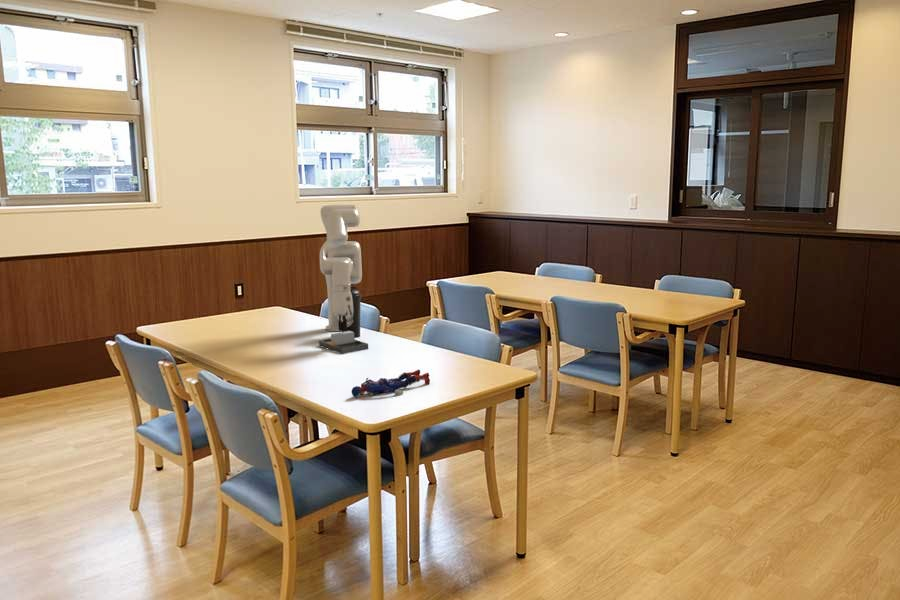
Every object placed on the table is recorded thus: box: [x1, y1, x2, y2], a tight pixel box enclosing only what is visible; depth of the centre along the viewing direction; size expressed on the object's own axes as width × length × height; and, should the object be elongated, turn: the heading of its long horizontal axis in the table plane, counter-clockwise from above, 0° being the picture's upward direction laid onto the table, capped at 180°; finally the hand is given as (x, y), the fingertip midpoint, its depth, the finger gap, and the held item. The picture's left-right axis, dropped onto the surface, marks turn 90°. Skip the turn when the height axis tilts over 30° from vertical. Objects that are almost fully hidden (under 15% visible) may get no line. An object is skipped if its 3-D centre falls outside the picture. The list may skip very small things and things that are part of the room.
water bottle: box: [341, 285, 362, 339], centre depth 319 cm, size 10×10×23 cm
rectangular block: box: [330, 331, 355, 345], centre depth 299 cm, size 10×4×6 cm, turn 132°
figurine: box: [351, 369, 431, 398], centre depth 240 cm, size 15×6×30 cm
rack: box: [318, 338, 369, 355], centre depth 300 cm, size 13×19×3 cm
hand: (342, 330), depth 299 cm, fingers closed
